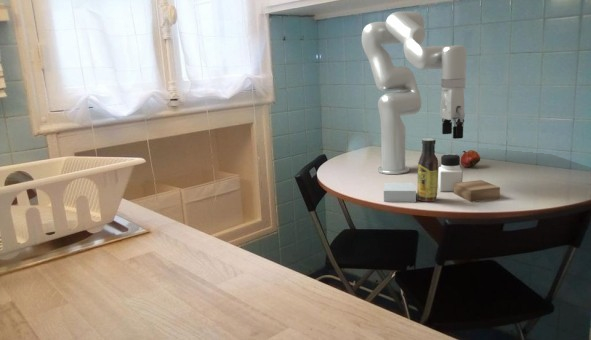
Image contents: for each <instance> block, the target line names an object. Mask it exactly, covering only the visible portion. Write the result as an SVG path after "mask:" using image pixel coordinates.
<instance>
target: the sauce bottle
mask: <svg viewBox="0 0 591 340" xmlns="http://www.w3.org/2000/svg"><path fill="white" fill-rule="evenodd" d="M421 145H422V151H421V154H420V157H419V160H418V162H417V189H416V190H417V191H416V195H417V199H418V200H419V201H421V202H428V203H429V202H430V203H431V202H435V201H437V199H438V189H439V186H438V172H439V161H438V156H436V154H435V152H436V151H435V149H436V139H435V138H431V137H426V138H422V139H421Z"/></svg>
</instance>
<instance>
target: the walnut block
mask: <svg viewBox="0 0 591 340" xmlns="http://www.w3.org/2000/svg"><path fill="white" fill-rule="evenodd" d="M500 192H501V187H500V186H498V185H496V184H493V183H490V182H487V181H485V180H484V179H483V180H481V179H479V180H469V181H462V182H460V183H454V192H453V194H454V195H455V196H458V197H460V198H461V199H464V200H466V201H468V202H470V203H472V202H473V201H475V202H479V201H480V202H481V201H482V200H483V201H489V200H490V199H491V200H500V195H501V193H500ZM473 203H474V202H473Z"/></svg>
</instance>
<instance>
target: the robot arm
mask: <svg viewBox="0 0 591 340" xmlns="http://www.w3.org/2000/svg"><path fill="white" fill-rule="evenodd" d="M424 28H425V18H424V16H423V15H422V14H421V13H419V12H417V11H395V12H393V13H391V14H389V15H388V16H387V18H386V20H385V21H374V22H370V23H368V24H366V25H365V26H364V28H363V30H362V32H361V46H362V49H363V51H364V54H365V55H366V57H367V59H368V61H369V64H370V69H371V73H372V75H373V76H372V77H373V80H374V83H375V85H376V89H377V90H378V91H380V92H386V93H384V94H383V95H381V96H380V97H379V99H378V101H377V102H378V103H377V108H378V113H379V119H380V120H379V121H380V143H381V144H380V146H381V147H380V148H381V149H380V150H381V156H380V158H381V165H380V166H378V168H377V172H378V173H379V174H385V175H401V174H407V173H409V172H410V167H409V166H406V126H405V123H404V121H403V120H402V118H401V117H404V116H411V115H412V116H413V115H417V114H418V113H419V112H420V111H421V108H422V98H421V94H420V92H419V91H420V90H419V87H418V83H417V80H416V78H415V75H414V72H413V70H411V69H410V67H408V66H395V65H394V63H393V60H392V57H391V54H390V53H389V52H388V51H387V50H386V49H385V47H384V46H382V45H386V44H387V45H389V44H400V43H401V44H402V45H403V54H404V57H405V59H406V60H407V61H408V62H409V63H410V64H411V65H412V66H413V67H415V68H416V69H418V70H423V71H427V70H441V76H440V77H441V80H440V81H441V83H440V84H441V85H440V86H441V87H440V89H441V95H440V106H439V107H440V108H439V116H440V118H442V120H441V121H442V124H441V134H442V135H451V134H452V139H454V140H455V139H463V138H464V126H465V125H464V122H465V115H466V114H465V90H466V77H467V76H466V74H467V68H466V67H467V49H466V46H464V45H459V44H457V45H430V46H423V45H422V44H423V42H424V41H425V39H426V31H425V29H424ZM394 91H396V92H394ZM387 92H388V93H387Z"/></svg>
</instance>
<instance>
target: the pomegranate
mask: <svg viewBox="0 0 591 340" xmlns="http://www.w3.org/2000/svg"><path fill="white" fill-rule="evenodd" d="M462 153H463V154H462V155H461V156H460V165H462V166H463V167H464V168H467V169H468V168H473V167H474V168H475V169H476V170H478V168H477V167H476V165H477V164H478V163H479V162H480V161H481V155H480V154H479V153H478V152H477V151H475V150H472V149H471V150H468V151H466V150H463V151H462Z"/></svg>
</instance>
